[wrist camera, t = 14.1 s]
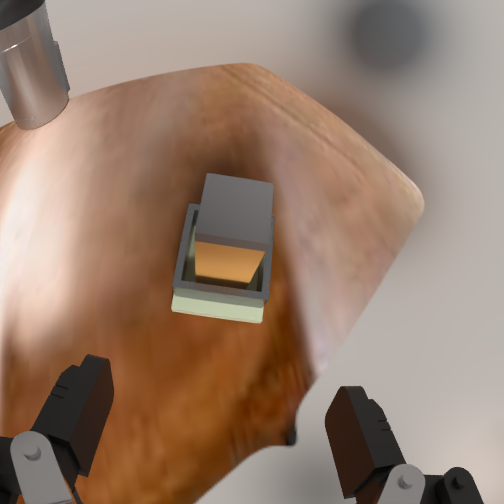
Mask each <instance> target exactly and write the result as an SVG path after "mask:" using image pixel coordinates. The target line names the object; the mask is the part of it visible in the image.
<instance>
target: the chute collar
mask: <svg viewBox="0 0 504 504" xmlns="http://www.w3.org/2000/svg"><path fill="white" fill-rule="evenodd" d="M199 208H200V205H199V204H192V203H189V206H188V210H187V215H186V219H185V224H184V229H183V233H182V238H181V243H180V248H179V253H178V258H177V263H176V269H175V274H174V279H173V285H172V287H173V291H174V294H175V296H178V297H184V298H191V299H197V300H204V301H211V302H218V303H225V304H232V305H239V306H247V307H255V308H262V307H263V306H264V305H265V304H266V303H267V301H268V300H269V288H270V275H271V262H272V248H273V234H274V219H275V216H271V230H270V243H269V246H268V248H267V250H266V252H265V254H264V256H263V257H262V259H261V261H260V263H259V267H258V278H257V289H256V291H250V290H243V289H235V288H228V287H221V286H214V285H208V284H201V283H194V282H188V281H184V280H185V275H186V269H187V263H188V258H189V252H190V247H191V242H192V236H193V231H194V226H196V223H197V218H198V213H199Z"/></svg>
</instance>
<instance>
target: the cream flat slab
mask: <svg viewBox="0 0 504 504" xmlns="http://www.w3.org/2000/svg"><path fill="white" fill-rule="evenodd" d="M195 229H196V226H194V231H193V236H192V242H191V247H190V252H189V258H188V263H187V269H186V275H185V280H184V281H188V282H194V283H196V272H195ZM258 267H259V265H258ZM258 267H257V269H256V271H255V273H254V275H253V277H252V279H251V281H250V282H249V284H248V286H247V288H246V290H250V291H256V289H257V278H258ZM201 284H202V283H201ZM208 285H209V284H208ZM214 286H216V285H214ZM221 287H223V286H221ZM228 288H230V287H228ZM235 289H237V288H235ZM243 290H244V289H243ZM171 309H172V311H174V312H180V313H187V314H193V315H200V316H207V317H214V318H221V319H228V320H236V321H244V322H252V323H260V322H262V316H263V307H262V308H255V307H247V306H239V305H232V304H225V303H218V302H211V301H204V300H197V299H191V298H184V297H178V296H175V294H174V295H173V301H172V307H171Z"/></svg>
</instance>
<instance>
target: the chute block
mask: <svg viewBox="0 0 504 504" xmlns="http://www.w3.org/2000/svg"><path fill="white" fill-rule="evenodd" d="M273 188H274V184H273V183H268V182H262V181H256V180H250V179H244V178H238V177H232V176H226V175H219V174H213V173H207V176H206V180H205V185H204V189H203V194H202V199H201V204H200V208H199V213H198V218H197V223H196V229H195V272H196V283H202V284H209V285H216V286H223V287H230V288H237V289H244V290H246V288H247V286H248V284H249V282H250V281H251V279H252V277H253V275H254V273H255V271H256V269H257V267H258V265H259V263H260V261H261V259H262V257H263V256H264V254H265V252H266V250H267V248H268V246H269V243H270V230H271V216H272V202H273Z"/></svg>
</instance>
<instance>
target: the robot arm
mask: <svg viewBox="0 0 504 504" xmlns="http://www.w3.org/2000/svg"><path fill="white" fill-rule="evenodd" d="M0 89H1V92H2V94H3V96H4V98H5V101H6V103H7V105H8V107H9V109H10V111H11V113H12V115H13V118H14V120H15V122H16V124H17V126H18V127H19V128H21V129H25V130H29V129H34V128H37V127H40V126H42V125H44V124H46V123H48V122H49V121H51V120H52V119H54V118H55V117H56V116H57V115H58V114H59V113H60V112H61V111H62V110H63V109H64V107H65V106H66V104H67V102H68V91H69V90H70V87H69V83H68V80H67V76H66V73H65V69H64V65H63V61H62V57H61V54H60V49H59V45H58V42H57V41H53V37H52V33H51V29H50V24H49V19H48V14H47V9H46V4H45V0H0ZM113 398H114V386H113V380H112V373H111V367H110V361H109V359H107V358H102V357H98V356H94V355H90V354H87V355H86V357H85V358H84V360H83V362H82V364H81V365H80V367H79V366H75V365H71V366H70V367H69V368H68V369H66V370H65V371H64V372H62V373H61V375H60V377H59V379H58V380H57V382H56V385H55V386H54V387H53V389H52V391H51V394H50V395H49V396H48V398H47V400H46V402H45V404H44V406H43V408H42V410H41V411H40V413H39V415H38V417H37V419H36V421H35V423H34V425H33V427H32V428H31V430H30V431H26V432H22V433H20V434H18V435H17V436H16V437H15V438H7V437H1V436H0V504H16V503H17V500H18V496H19V494H22V495H23V497H24V500H25V503H26V504H84V502H83V500H82V498H81V496H80V494H79V491H78V489H77V487H76V485H75V482H76V479H77V476H78V474H79V475H82V476H85V477H88V475H89V472H90V469H91V465H92V462H93V459H94V456H95V453H96V450H97V447H98V444H99V441H100V438H101V435H102V432H103V429H104V426H105V423H106V420H107V417H108V414H109V412H110V409H111V406H112V403H113ZM325 428H326V432H327V435H328V439H329V443H330V447H331V450H332V454H333V458H334V462H335V465H336V469H337V472H338V477H339V480H340V484H341V488H342V492H343V496H344V499H347V498H353V497H356V501H357V503H356V504H484V503H483V501H482V499H481V496H480V493H479V491H478V489H477V486H476V484H475V482H474V480H473V477H472V476H471V474H470V473H469V472H468V471H467V470H465V469H464V468H461V467H454V468H451V469H450V470H449V471H448V472H446V473H445V474H444V475H424V474H423V473H422V472H421V471H420V470H419V469H418V468H417V467H415V466H413V465H409V464H407V463H406V462H405V460H404V457H403V455H402V453H401V450H400V448H399V446H398V443H397V441H396V439H395V437H394V434H393V432H392V431H391V427H390V425H389V423H388V422H387V419H386V416H385V414H384V412H383V410H382V408H381V407H380V406H379V405H378V404H377V403H376V402H375V401H374V400H373V399H368V397H367V395H366V393H365V390H364V389H363V388H362V387H361V386H342V387H340V388H339V390H338V391H337V393H336V395H335V397H334V399H333V401H332V403H331V405H330V407H329V409H328V411H327V413H326V416H325Z"/></svg>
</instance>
